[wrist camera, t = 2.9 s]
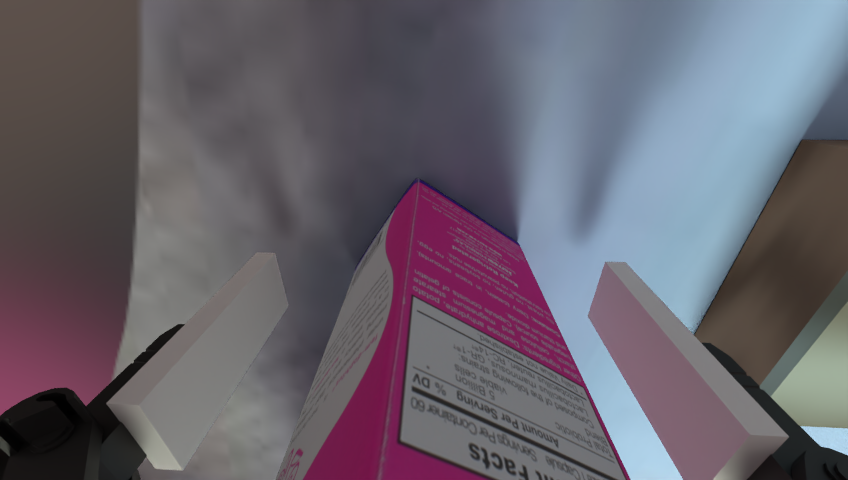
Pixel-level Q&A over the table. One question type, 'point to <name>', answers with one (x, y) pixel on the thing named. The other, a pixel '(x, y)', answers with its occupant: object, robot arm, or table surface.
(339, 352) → the supplement box
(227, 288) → the robot arm
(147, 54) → the table surface
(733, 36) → the table surface
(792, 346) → the block
